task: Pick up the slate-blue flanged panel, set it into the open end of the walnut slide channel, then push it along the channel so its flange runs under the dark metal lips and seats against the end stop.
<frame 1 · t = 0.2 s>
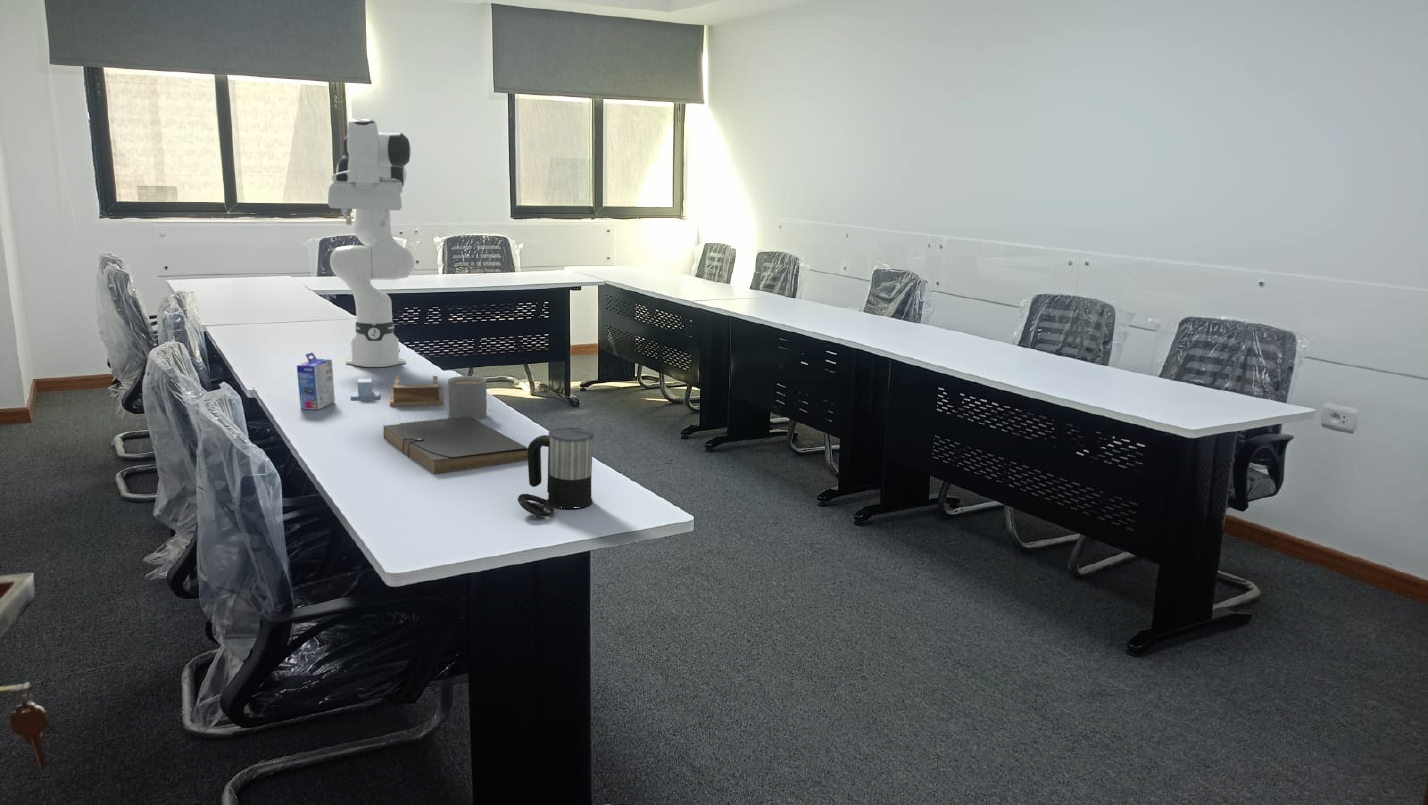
hand: (366, 225, 282), 47 cm above the table, tool pointing down, fingers open, 8 cm apart
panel: (365, 398, 276), on the table
milk frother: (556, 508, 194), on the table
ink cartridge box: (317, 406, 264), on the table
coffee mug: (466, 415, 262), on the table
board: (416, 396, 279), on the table
file folder: (455, 451, 230), on the table
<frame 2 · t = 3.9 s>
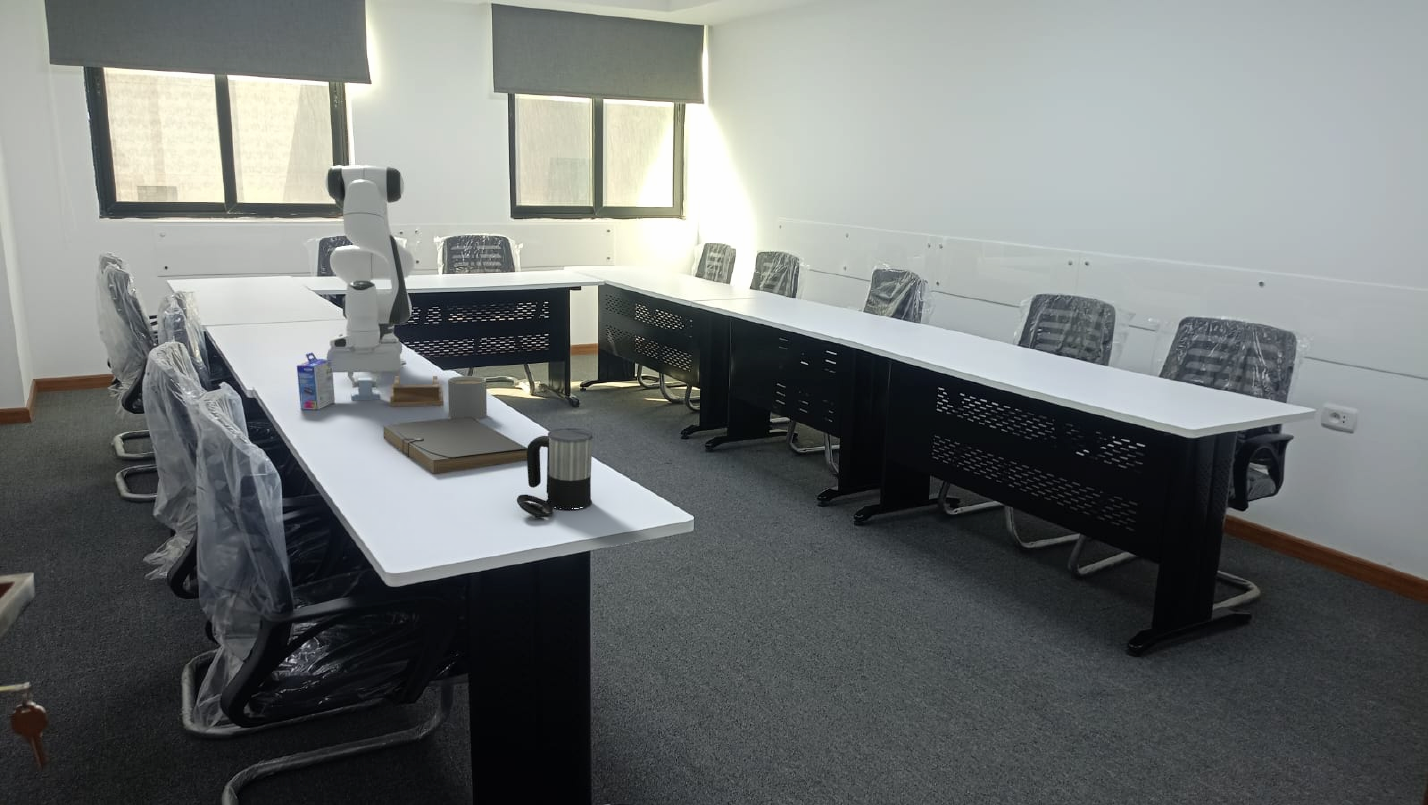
hand: (365, 387, 275), 3 cm above the table, tool pointing down, fingers closed on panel, 4 cm apart
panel: (365, 397, 276), on the table, touching gripper
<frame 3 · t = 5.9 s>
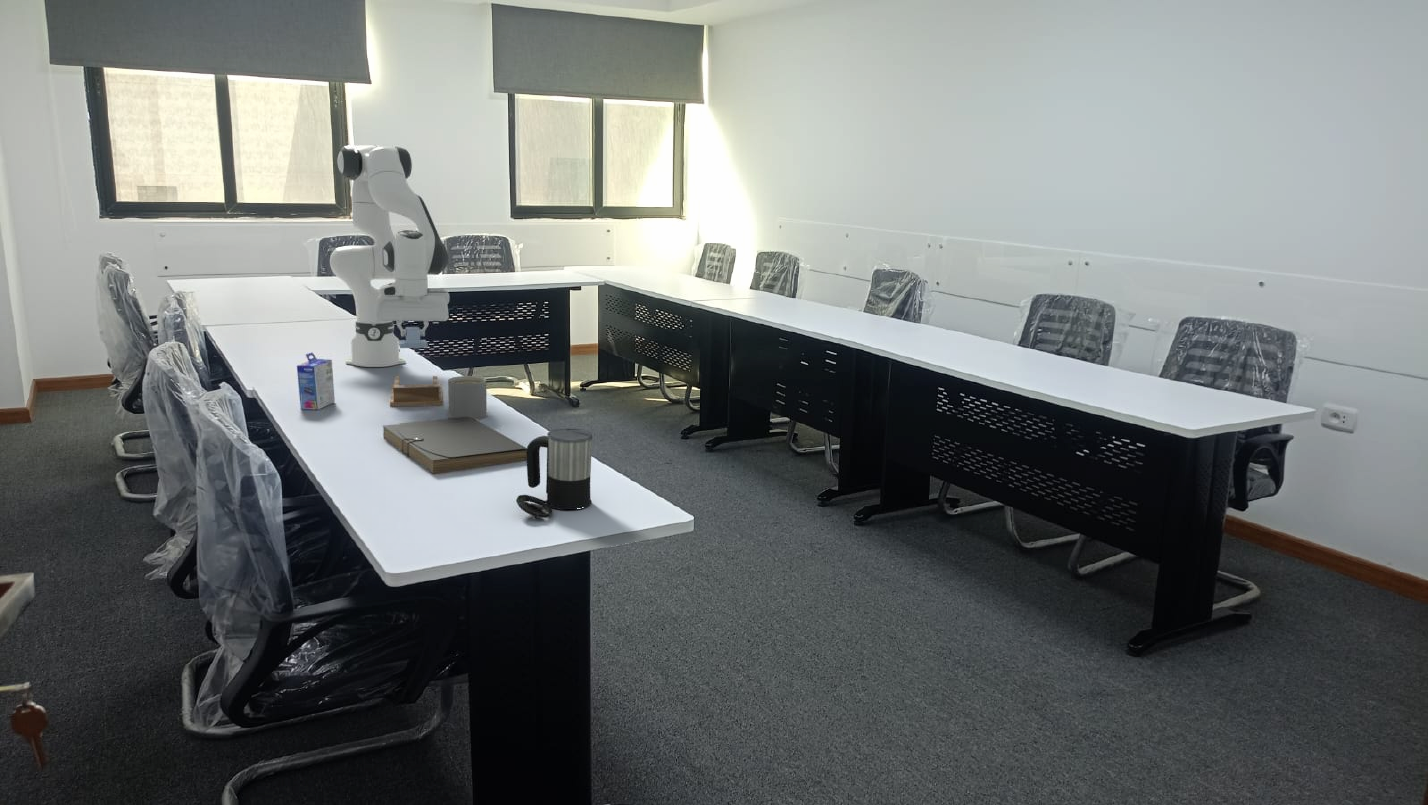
hand: (412, 336, 279), 17 cm above the table, tool pointing down, fingers closed on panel, 4 cm apart
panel: (413, 346, 280), point 14 cm above the table, touching gripper
everything else where it was.
when the fingers open (6 cm above the table, at t = 8.1 s): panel drops 1 cm, resting on board.
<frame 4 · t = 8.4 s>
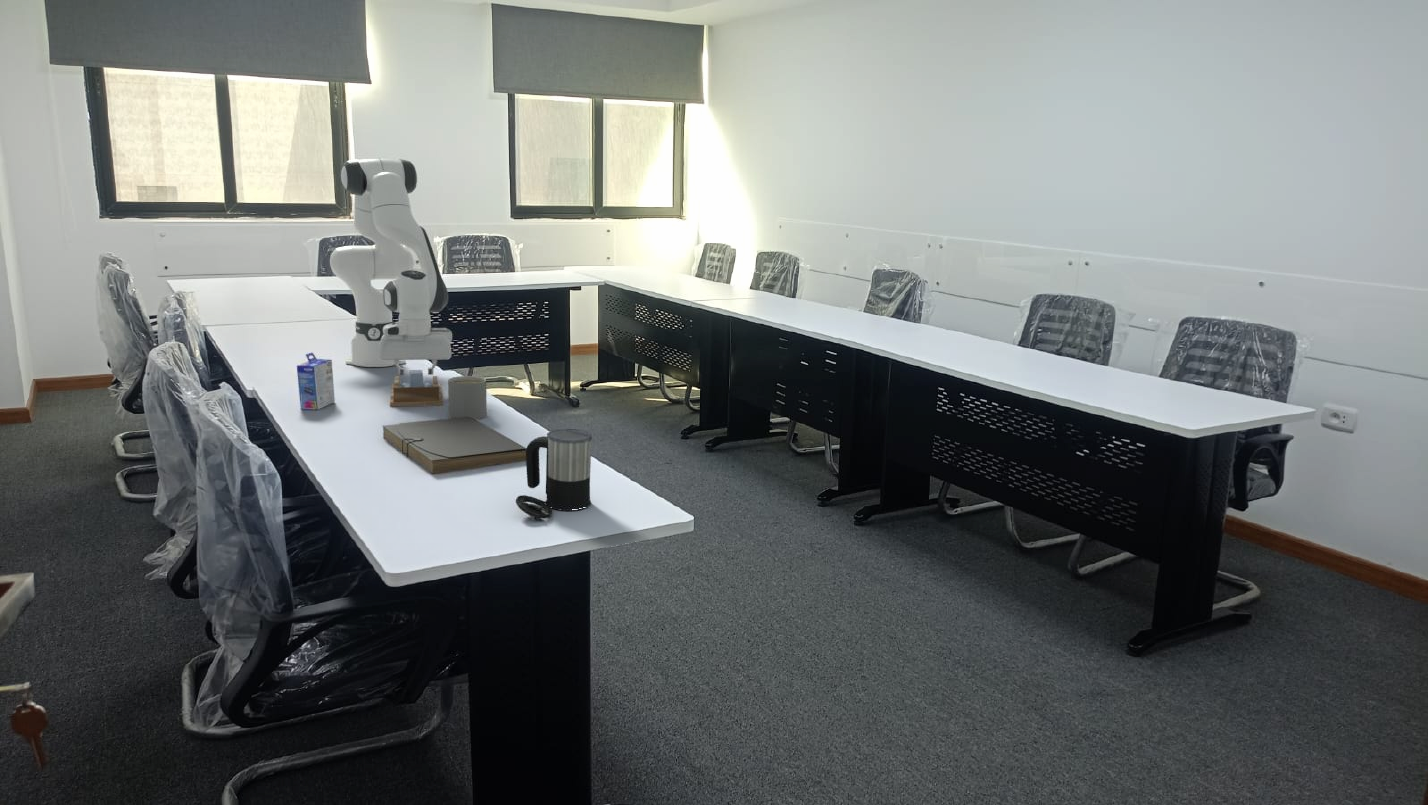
hand: (416, 374, 282), 6 cm above the table, tool pointing down, fingers open, 7 cm apart
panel: (416, 389, 283), point 1 cm above the table, touching board
everything else where it was.
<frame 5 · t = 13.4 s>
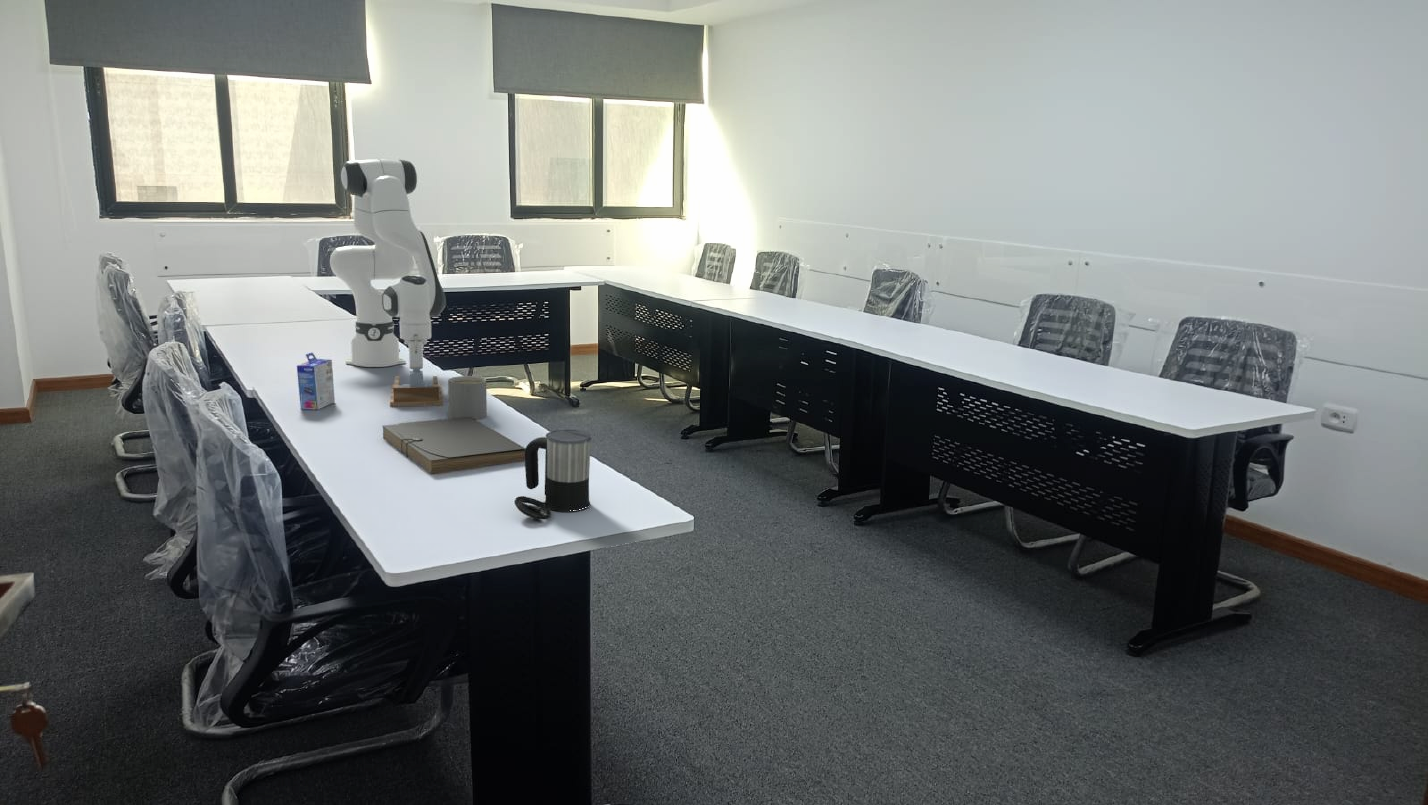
hand: (416, 378, 285), 4 cm above the table, tool pointing down, fingers closed
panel: (416, 389, 282), point 1 cm above the table, touching gripper
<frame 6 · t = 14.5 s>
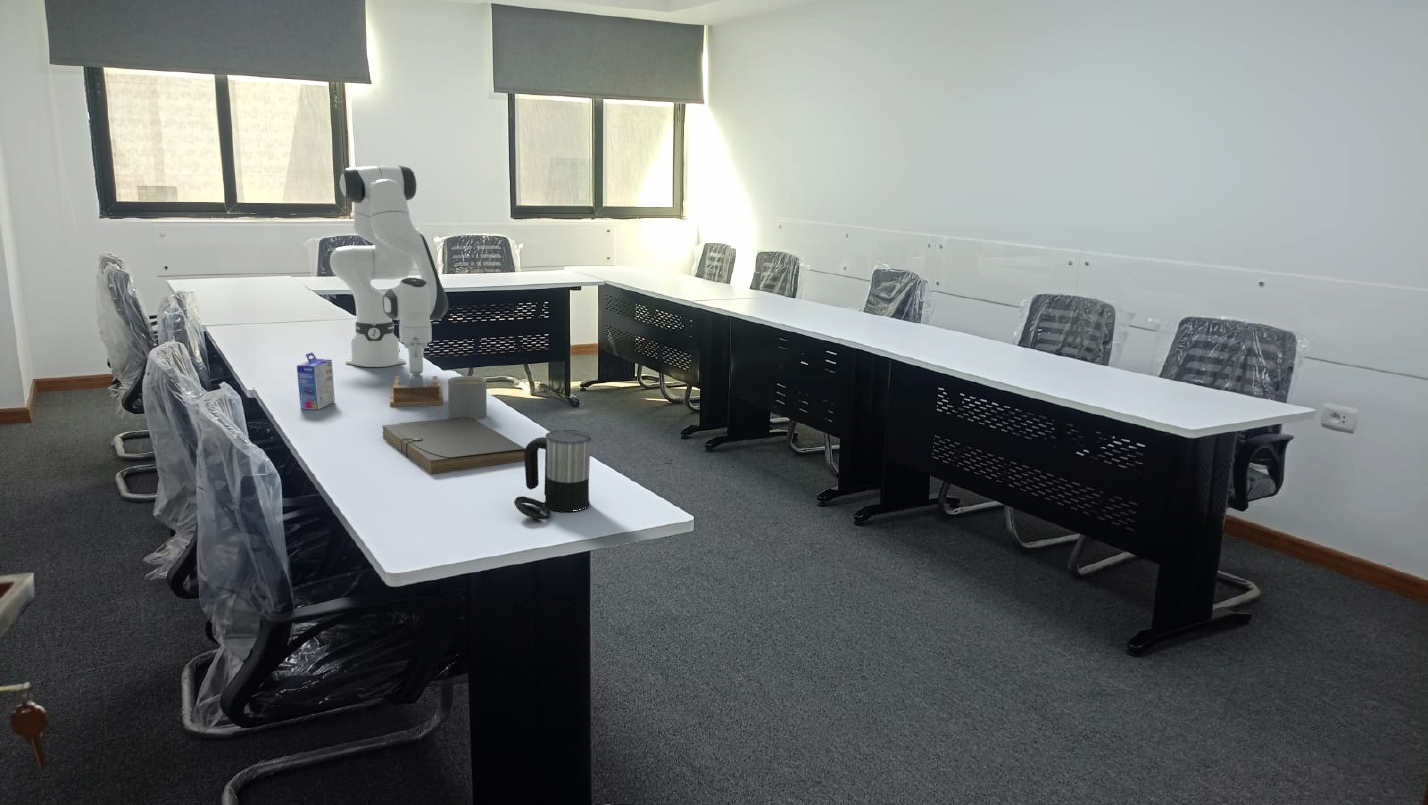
hand: (416, 382, 279), 4 cm above the table, tool pointing down, fingers closed
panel: (416, 394, 276), point 1 cm above the table, touching board, gripper
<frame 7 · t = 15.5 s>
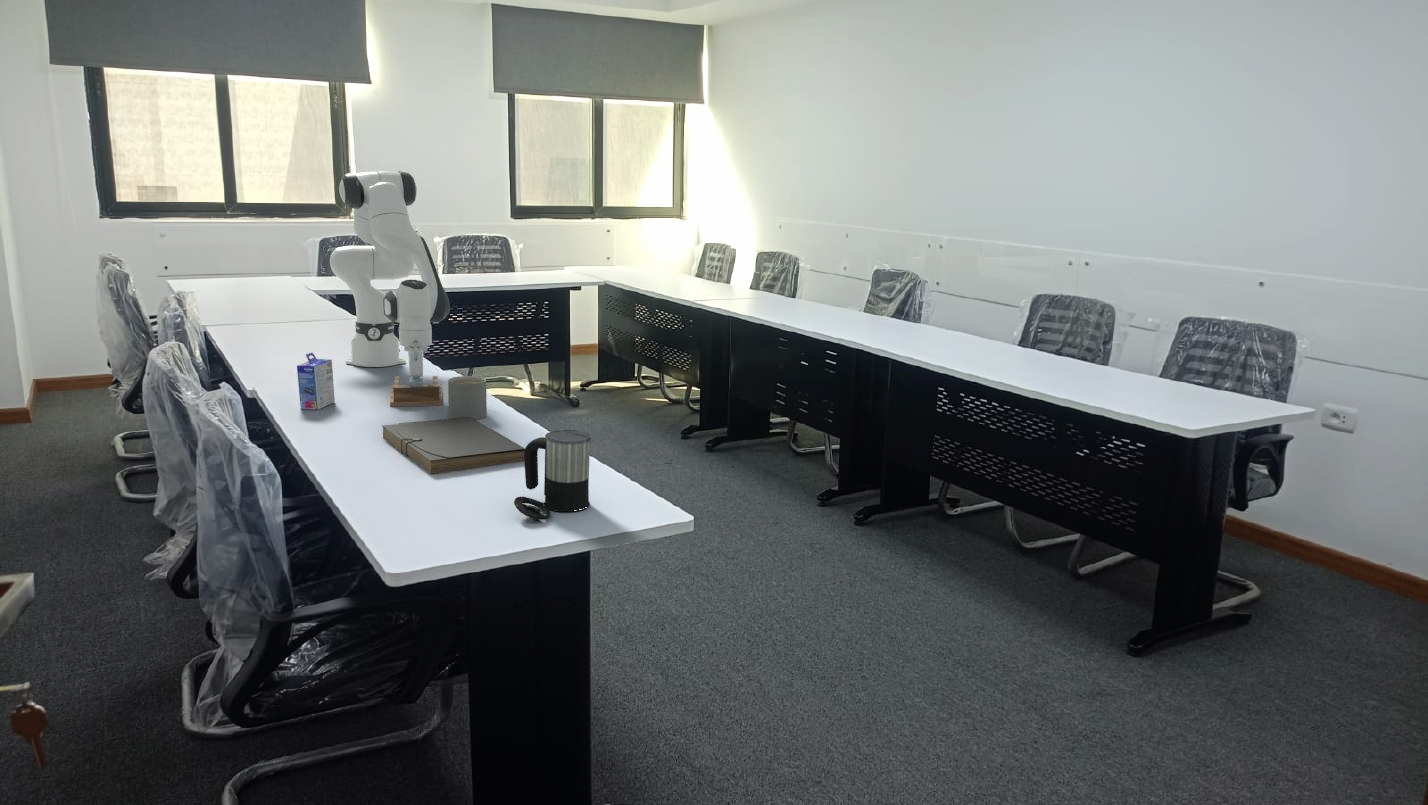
hand: (416, 386, 275), 4 cm above the table, tool pointing down, fingers closed
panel: (416, 398, 272), point 1 cm above the table, touching board, gripper
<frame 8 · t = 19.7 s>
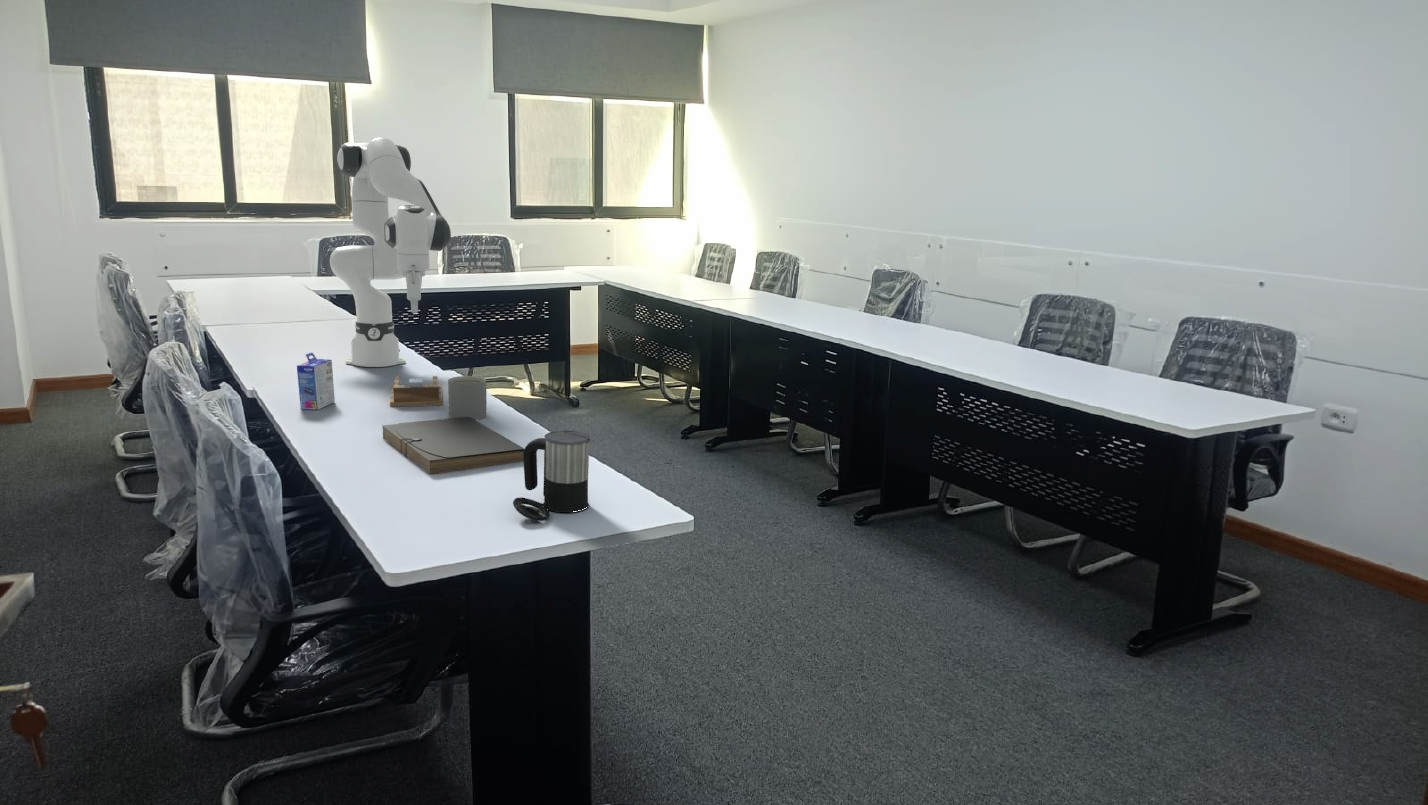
hand: (414, 312, 277), 24 cm above the table, tool pointing down, fingers closed
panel: (416, 398, 272), point 1 cm above the table, touching board
at the end: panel 0.5 cm from the target spot on the board, point 1.2 cm above the board's base; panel tilted 0°; the gripper is holding nothing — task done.
